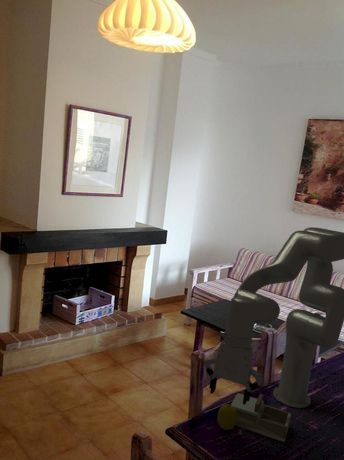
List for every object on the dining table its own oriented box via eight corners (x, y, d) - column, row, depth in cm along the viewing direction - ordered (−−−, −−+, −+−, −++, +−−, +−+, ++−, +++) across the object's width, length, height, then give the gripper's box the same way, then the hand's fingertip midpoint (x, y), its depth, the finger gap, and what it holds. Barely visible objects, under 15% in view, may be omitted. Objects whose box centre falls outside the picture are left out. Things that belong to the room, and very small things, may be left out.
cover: (237, 395, 133) (238, 385, 132) (263, 403, 129) (264, 393, 129) (230, 407, 125) (231, 397, 124) (257, 416, 121) (259, 406, 121)
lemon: (234, 437, 118) (238, 411, 117) (215, 433, 119) (218, 407, 118) (235, 427, 123) (239, 401, 122) (216, 422, 124) (220, 397, 123)
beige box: (237, 409, 133) (239, 396, 132) (288, 426, 127) (291, 412, 126) (230, 423, 125) (232, 409, 124) (284, 442, 119) (287, 427, 118)
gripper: (205, 335, 118) (196, 392, 119) (265, 352, 111) (255, 412, 113) (212, 328, 124) (204, 382, 126) (270, 344, 118) (260, 401, 120)
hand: (228, 396), depth 119 cm, fingers open, 9 cm apart
